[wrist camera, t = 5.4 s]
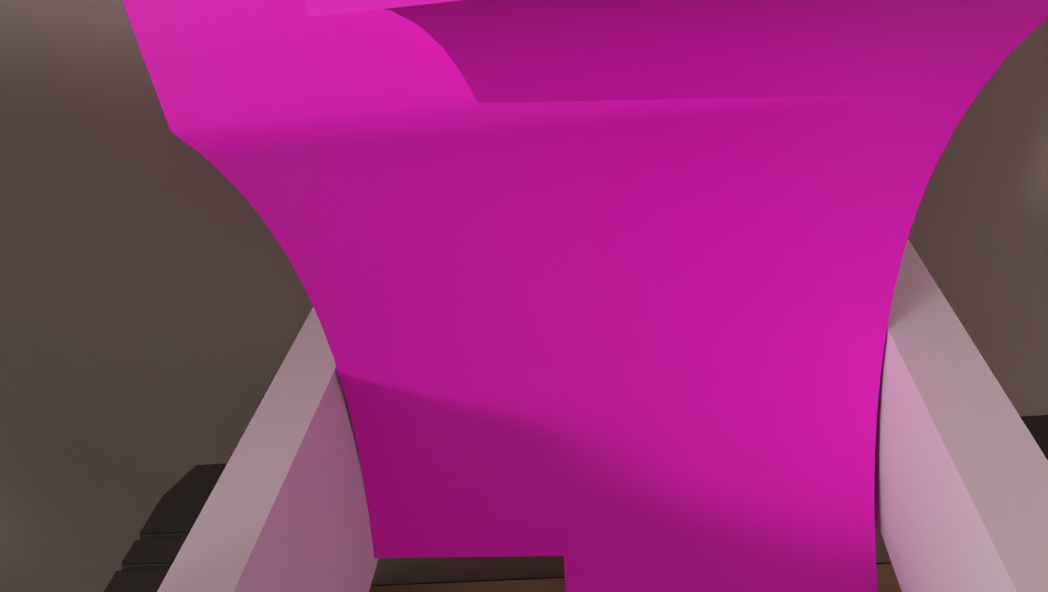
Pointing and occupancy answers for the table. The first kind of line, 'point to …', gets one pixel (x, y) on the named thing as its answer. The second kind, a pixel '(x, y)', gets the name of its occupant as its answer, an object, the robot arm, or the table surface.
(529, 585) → the brown flat bar
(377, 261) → the toy block
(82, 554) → the table surface
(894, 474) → the robot arm
